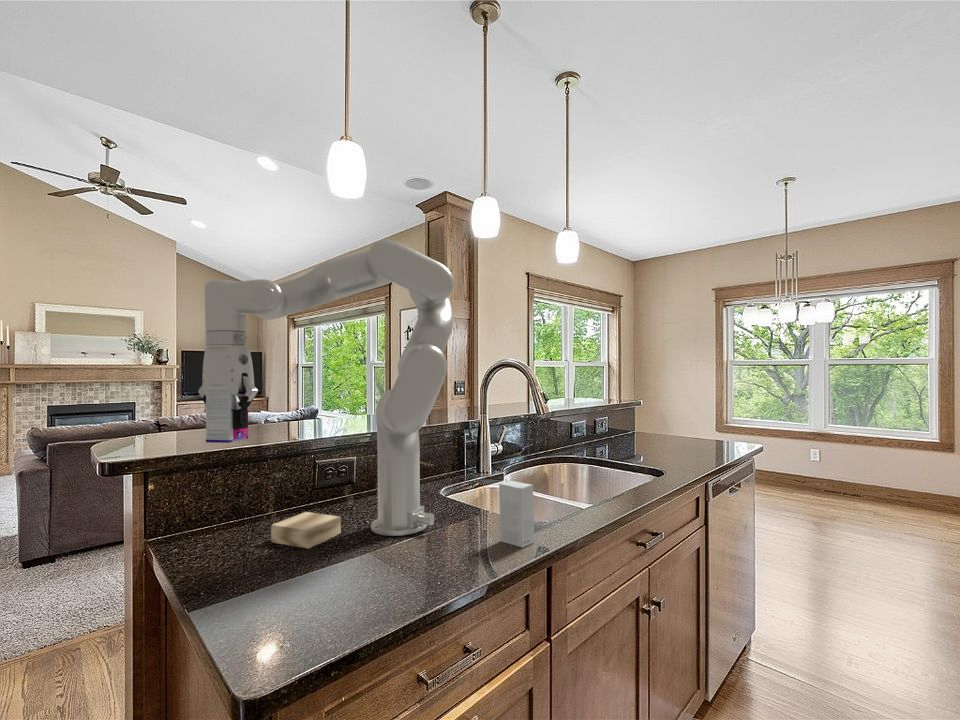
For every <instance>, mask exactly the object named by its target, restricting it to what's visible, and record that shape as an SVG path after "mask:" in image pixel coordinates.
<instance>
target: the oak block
mask: <svg viewBox="0 0 960 720" xmlns="http://www.w3.org/2000/svg"><path fill="white" fill-rule="evenodd" d="M341 520H342V517H341V516H338V515H331V514H324V513H316V512H309V511H303V512H302V513H299V514H297V515H293V516H291V517H289V518H286V519H283V520H280V521H277V522H275V523H272V524H271V531H270V532H271V533H270V534H271V539H270V542H271V543H273V544H280V545H284V544H285V546H291V547H297V548H303V549H307V550H309V549H311V548H312V547H315V546H317V545H319V544H321V543H324V542H326V541H327V540H329V539H331V537H332V538H334V537H337V536H338V535H340V534H342V527H341V526H342V525H341V524H342V521H341ZM339 533H340V534H339ZM337 534H338V535H337Z"/></svg>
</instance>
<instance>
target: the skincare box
mask: <svg viewBox="0 0 960 720" xmlns="http://www.w3.org/2000/svg"><path fill="white" fill-rule="evenodd" d="M498 485H499V492H498V493H499V540H500V542H502V543H505V544H509V545H512V546H514V547H518V548H521V549H522V548H525V547H527V546H529V545H531V544H533V543H535V523H534V520H535V519H534V514H535V513H534V511H535V510H534V485H533V484H530V483H525V482H524V483H523V482H519V481H514V480H510V481H506V482H502V483H499V484H498Z"/></svg>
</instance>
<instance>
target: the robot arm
mask: <svg viewBox="0 0 960 720" xmlns="http://www.w3.org/2000/svg"><path fill="white" fill-rule="evenodd" d="M391 283H395V284H396V285H397V286H400V287H403V288H404V289H406V290H408V293H409V296H410V298H411V300H412V301H413V303H414V305H415V307H416V309H417V310H416V311H417V319H416V321H415V326H413V327H414V328H413V330H412V333H411V335H410V337H409V339H408V341H407V344H406V346H405V347H404V350H403V351H402V353H401V355H400V357H399V359H398V363H397V374H398V376H397V378H396V379H395V383H394V384H393V387H392V388H391V389H389V390H387V391H385V392H384V393H383V394H381V396H380V397H379V399H378V401H377V403H376V408H375V424H376V425H375V426H376V440H377V443H376V444H377V447H376V448H377V518H376V519H374V520H373V521H372V522H371V523H370V529H371V531H372V532H373V533H375V534H377V535H379V536H390V537H394V536H395V537H398V536H400V537H401V536H407V535H412V534H416V533H420V532H421V531H424V530H425V529H426V528H427V526H433V524H434V522H435V514H434V513H429V512H425V506H424V505H421V487H420V486H421V484H420V483H421V481H420V480H421V479H420V478H421V475H420V474H421V473H420V472H421V469H420V467H421V466H420V461H421V460H420V458H421V454H420V452H421V450H420V445H421V444H420V434H419V432H420V431H419V430H420V429H421V428H422V427H423V426H424V425H425V423H426V422H427V420H428V418H429V415H430V413H431V412H432V410H433V408H434V404H435V403H436V400H437V399H438V396H439V394H440V391H441V388H442V387H443V384H444V382H445V379H446V376H447V372H448V371H447V370H448V362H447V358H446V356H445V354H444V352H445V349H446V347H447V344H448V341H449V339H450V337H451V334H452V330H453V325H454V312H453V308H452V304H451V302H450V299H449V297H450V296H451V295H452V293H453V291H454V288H455V279H454V276H453V273H452V272H451V270H449V268H447V266H445V265H444V264H443V263H441V262H439V261H438V260H435V259H433V258H431V257H429V256H427V255H425V254H423V253H421V252H419V251H416V250H415V249H413V248H412V247H409V246H406V245H405V244H403V243H400V242H398V241H395V240H391V239H381V240H378V241H376V242H374V243H373V244H372V245H371V247H370V248H369V249H367V250H364V251H359V252H356V253H352V254H349V255H345V256H341V257H338V258H335V259H329V260H327V261H324V262H322V263H320V264H318V265H317V266H315V267H314V268H313V269H311V270H310V271H308V272H307V273H305V274H303V275H301V276H299V277H296V278H293V279H290V280H288V281H283V282H279V283H277V282H274V281H273V280H270V279H266V278H265V279H263V278H262V279H250V280H241V281H239V280H237V281H236V280H230V279H214V280H209V281H208V282H206V283H205V285H204V331H205V335H204V336H205V339H204V340H205V350H204V354H203V361H202V362H203V363H202V379H201V381H202V382H201V383H202V384H201V386H200V387H199V389H198V395H200V397H201V399H202V402H203V403H204V408H205V409H206V386H227V387H228V388H229V389H230V394H231V395H232V396H233V404H234V407H235V409H236V410H233V429H234V430H238V429H244V428H248V429H249V409H250V408H251V404H252V402H253V401H254V399H255V397H256V395H257V394H258V392H259V390H258V389H257V387H256V386H255V375H254V367H253V366H254V365H253V360H252V355H251V351H250V347H247V340H248V336H247V314H249V315H255V316H257V317H258V318H260V319H263V320H267V321H268V320H271V321H272V320H276V319H280V318H283V317H287V316H289V315H294V314H297V313H300V312H303V311H306V310H310V309H313V308H315V307H318V306H321V305H325V304H328V303H332V302H335V301H337V300H339V299H340V300H341V299H342V298H348V297H351V296H353V295H356V294H359V293H362V292H366V291H369V290H372V289H377V288H380V287H383V286H386V285H388V284H391ZM238 391H239V392H241V393H239V394H238ZM239 398H241V400H240V401H239Z"/></svg>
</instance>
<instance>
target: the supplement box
mask: <svg viewBox="0 0 960 720" xmlns="http://www.w3.org/2000/svg"><path fill="white" fill-rule="evenodd" d="M239 393H241V392H239V391H238V394H239ZM240 400H241V398H239V401H240ZM233 410H236V409H235V407H234V404H233V396H232V395H231V394H230V389H229V388H228V387H227V386H206V408H205V443H206V444H207V443H209V444H211V443H214V444H215V443H216V444H217V443H219V444H222V443H223V444H224V443H225V444H229V443H233V442H234V443H235V442H239V441H243V440H248V439H249V427H248V428H244V429H238V430H234V429H233Z"/></svg>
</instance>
